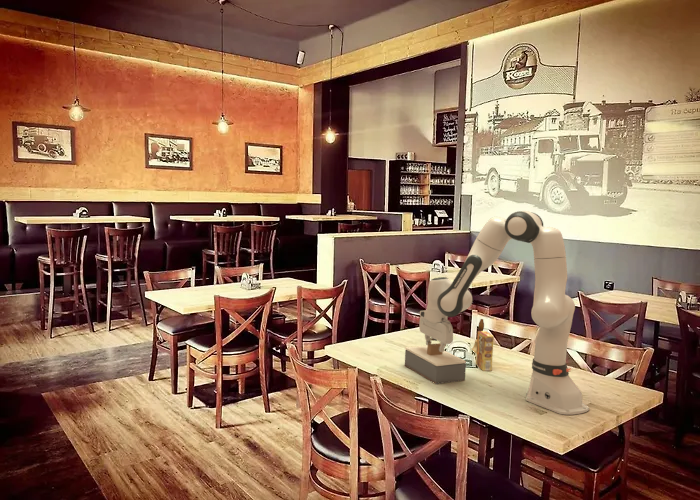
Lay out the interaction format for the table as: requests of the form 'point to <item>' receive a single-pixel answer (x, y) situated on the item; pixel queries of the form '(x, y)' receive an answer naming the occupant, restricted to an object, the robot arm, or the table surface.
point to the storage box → (435, 369)
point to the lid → (435, 355)
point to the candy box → (484, 350)
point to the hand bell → (481, 327)
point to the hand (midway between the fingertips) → (434, 348)
